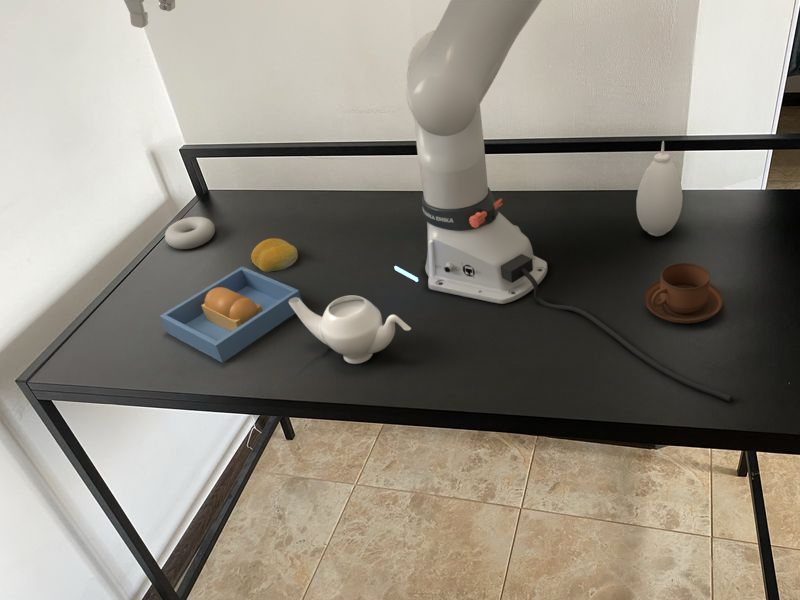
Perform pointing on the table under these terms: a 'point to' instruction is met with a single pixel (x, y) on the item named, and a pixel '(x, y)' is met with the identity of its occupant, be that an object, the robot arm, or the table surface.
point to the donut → (189, 232)
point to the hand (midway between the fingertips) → (154, 17)
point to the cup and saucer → (684, 294)
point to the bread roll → (274, 255)
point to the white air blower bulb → (659, 196)
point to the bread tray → (223, 343)
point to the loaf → (229, 308)
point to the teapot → (350, 327)
